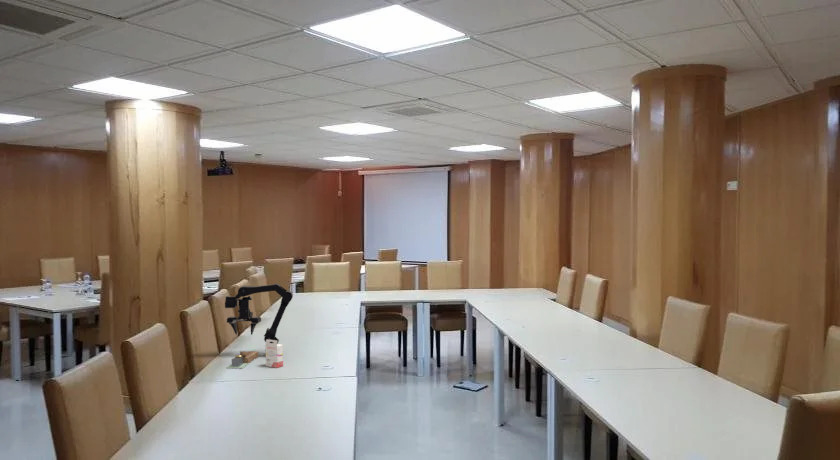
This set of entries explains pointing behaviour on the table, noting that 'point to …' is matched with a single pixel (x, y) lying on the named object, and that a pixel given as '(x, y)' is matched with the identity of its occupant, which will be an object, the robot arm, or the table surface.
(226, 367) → the mat
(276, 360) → the ink cartridge box
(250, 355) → the body
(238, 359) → the lever cap
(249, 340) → the table surface
